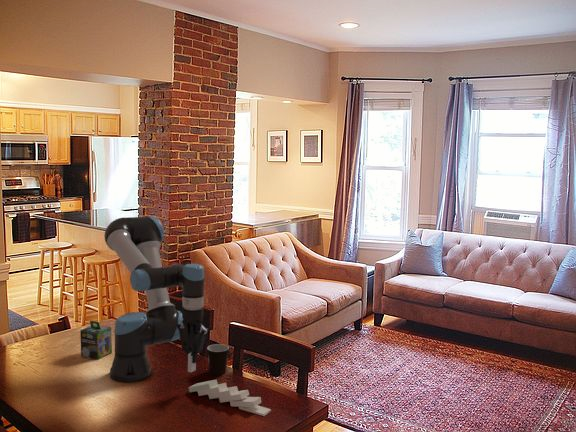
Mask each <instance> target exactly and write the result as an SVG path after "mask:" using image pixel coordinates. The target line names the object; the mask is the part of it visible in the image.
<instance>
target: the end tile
mask: <svg viewBox="0 0 576 432" xmlns="http://www.w3.org/2000/svg"><path fill="white" fill-rule="evenodd" d="M218 384H219V383H218V380H217V378H216V379H213V380H207V381H203V382H198V383H197V382H196V383H194V384H193V385H191V386H189V387H188V392H189V393H195V392H198V391H200V390H206V389H210V388H212V387H214V386H216V385H218Z"/></svg>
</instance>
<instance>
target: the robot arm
mask: <svg viewBox="0 0 576 432" xmlns="http://www.w3.org/2000/svg"><path fill="white" fill-rule="evenodd" d="M164 234H165V230H164V226H163V224H162V222H161V220H160V219H159V218H157V217H156V216H148V215H147V216H134V217H133V216H131V217H119V218H116V219H114V220H112V221H111V222H110V223H109V224H108V225H107V227H106V228H105V231H104V242H105V244H106V245H107V247H108V248H109V250H111V251H113V252H115V253H116V255H117V256H118V258H119V259H120V261H121V262H122V263H123V264H124V266H125V267H126V269H127V270H128V271H129V273H130V274H129V275H130V276H129V282H130V285H131V288H132V290H134V291H135V292H136V291H137V292H140V291H143V292H145V295H146V296H145V297H146V300H147V305H148V308H147V310H146V312H141V311H137V312H135V311H134V312H133V311H132V312H129V313H125V314H122V315H120V316H119V317H118V318H116V320H115V324H114V330H113V331H114V332H113V333H114V358H113V360H112V364H111V367H110V370H109V377H110V379H111V380H113V381H115V382H120V383H133V382H139V381H142V380H145V379H147V378H148V377H150V375H151V371H152V370H151V365H150V362H149V359H148V356H147V347H149V346H154V345H159V344H164V343H171V342H174V341H178V340H179V339H180V346H181V350H182V351H183V352H185V353H186V362H187V373H192V372H195V371H196V370H197V363H198V355H199V354H201V353H202V352H203V350H204V345H205V341H206V336H207V334H208V332H209V328H208V327H207V328H206V327H205V326H204V322H203V318H204V306H205V305H204V303H205V301H204V299H205V298H204V290H205V271H204V270H205V268H204V266H203V265H202V264H200V263H199V264H198V263H187V264H181V263H172V264H170V265H169V266H163V264H162V260H161V255H160V250H159V249H160V247H161V246H162V242H163V241H164V237H165V235H164ZM174 287H180V288H182V295H181V296H182V303H181V304H182V305H181V306H182V309H181V311H180V310H177V309H176V305H175V304H174V303H171V301H170V295H169V292H168V288H174Z"/></svg>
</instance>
